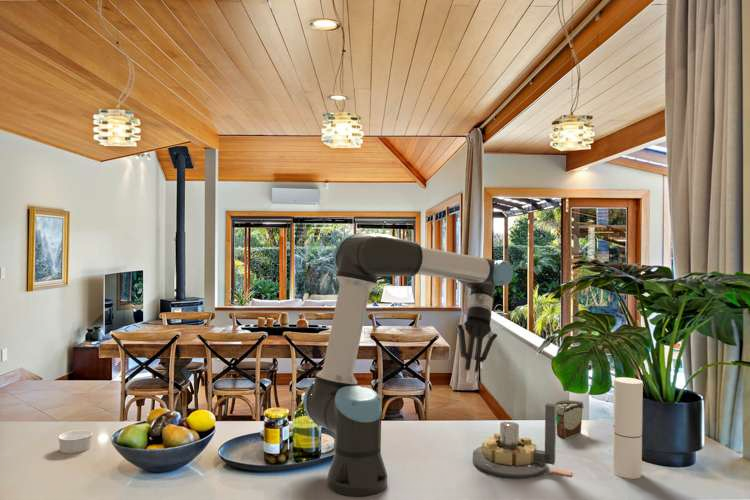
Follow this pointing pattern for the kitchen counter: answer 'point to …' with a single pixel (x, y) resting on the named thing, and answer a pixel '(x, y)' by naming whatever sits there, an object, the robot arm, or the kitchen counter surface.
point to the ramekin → (75, 441)
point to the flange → (510, 442)
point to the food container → (568, 418)
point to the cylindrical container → (627, 427)
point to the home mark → (561, 472)
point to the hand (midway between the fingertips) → (469, 381)
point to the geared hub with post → (525, 445)
